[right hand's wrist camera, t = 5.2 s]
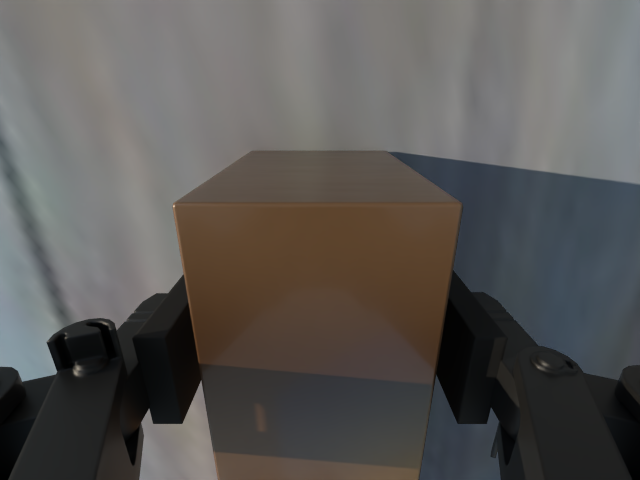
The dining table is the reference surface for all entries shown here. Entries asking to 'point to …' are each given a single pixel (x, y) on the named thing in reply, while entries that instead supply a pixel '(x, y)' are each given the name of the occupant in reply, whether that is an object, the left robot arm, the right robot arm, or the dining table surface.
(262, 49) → the dining table surface
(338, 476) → the beam
